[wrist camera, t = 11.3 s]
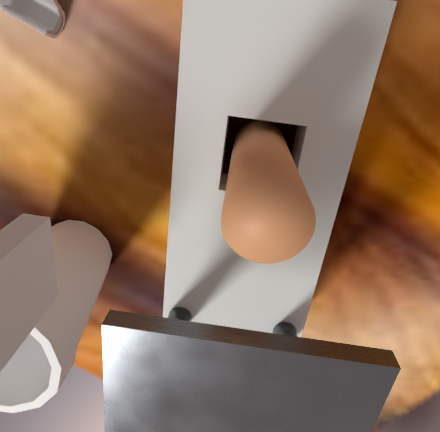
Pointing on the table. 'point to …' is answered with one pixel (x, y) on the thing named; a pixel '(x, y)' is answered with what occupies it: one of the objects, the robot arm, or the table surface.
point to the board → (268, 111)
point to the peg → (265, 198)
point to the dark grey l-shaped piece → (236, 378)
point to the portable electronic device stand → (37, 14)
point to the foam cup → (58, 319)
